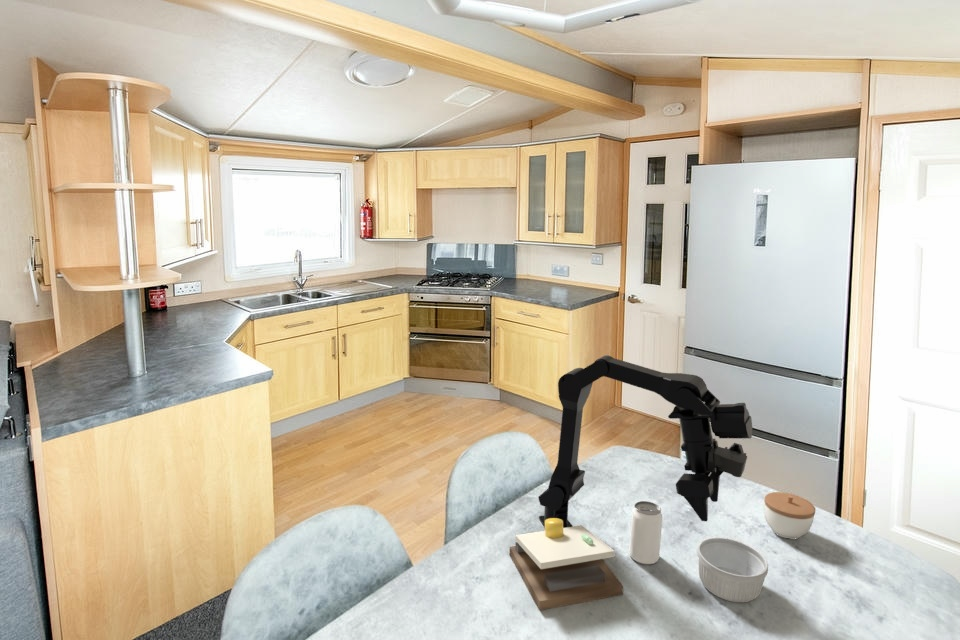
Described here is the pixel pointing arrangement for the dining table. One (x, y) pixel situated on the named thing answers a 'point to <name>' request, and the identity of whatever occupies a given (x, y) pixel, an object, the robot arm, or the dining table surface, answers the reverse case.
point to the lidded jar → (788, 514)
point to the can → (645, 533)
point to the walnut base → (567, 594)
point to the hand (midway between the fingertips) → (709, 510)
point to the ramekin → (731, 569)
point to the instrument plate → (563, 545)
